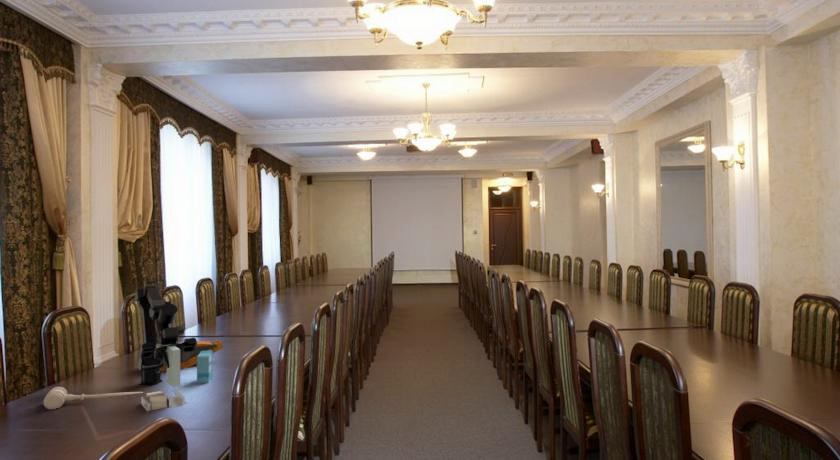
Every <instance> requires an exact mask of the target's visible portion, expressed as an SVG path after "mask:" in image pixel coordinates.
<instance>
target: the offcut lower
mask: <svg viewBox="0 0 840 460" xmlns="http://www.w3.org/2000/svg"><path fill="white" fill-rule="evenodd" d="M166 406H167V401H165V402H160V403H155V404H151V403H150V408H151V409H156V408H161V407H166ZM166 408H167V407H166ZM161 409H162V408H161ZM156 410H157V409H156Z"/></svg>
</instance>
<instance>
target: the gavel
mask: <svg viewBox="0 0 840 460" xmlns="http://www.w3.org/2000/svg"><path fill="white" fill-rule="evenodd" d="M142 393H144V392H143V391H129V392H128V391H127V392H125V391H124V392H113V393H112V392H111V393H109V392H108V393H100V394H85V393H82V394H80V395H79V394H77V395H76V394H71V393H68V390H67V389H66V388H64V387H62V386H55V387H53V388H51V389H50V390H49V391H48V393H47V394H46V396H45V397H44V399H43V405H44V407H45V408H46V409H48V410H56V408H58V409H60V408H61V407H62V406H63V404H64V403H65V402H70V401H72V400H82V401H84V399H97V398H98V399H105V398H106V399H107V398H108V399H109V398H112V399H113V398H117V397H118V398H119V397H123V396H128V395H135V394H142Z"/></svg>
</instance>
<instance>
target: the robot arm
mask: <svg viewBox="0 0 840 460" xmlns="http://www.w3.org/2000/svg"><path fill="white" fill-rule="evenodd" d="M134 301H135V302H136V305H137V306H136V307H137V308H138V310H140V311H141V317H142V330H143V343H142V344H141V345H140V349H139V359H138V362H137V369H138V370H139V371H141V372H140V373H141V375H140V376H141V379H140V380H141V382H138V385H140V386H141V385H142V386H143V385H144V386H154V385H156V384H158V383H160V382H162V381H163V379H161V373H162V371H160V367H161V368H162V367H163V364H164V365H165V366H166V367H167V368H169V361H168V358H167V355H166V350H167V347H168V346H176V347H177V348H179V349H180V355H182V354H183V351H184V352H193V351H194V350H195V347H196V345H197V341H198V340H197V338H195V337H188V338H184V340H183V342H178V341H179V336H182V335H183V334H184V333H185V330H184V325H183V324H182V325H177V326H175V327H174V325H173V323H174V322H175V319H176V316H177V312H178V306H176V305H175V304H174V303H171V301H166V300H164V299H163V297H162V294H161V293H160V289H159V286H158V285H156V284H155V285H144V287H141V288H140V289H137V290H136V292H135V293H134Z"/></svg>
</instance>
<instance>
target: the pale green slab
mask: <svg viewBox="0 0 840 460" xmlns="http://www.w3.org/2000/svg"><path fill="white" fill-rule="evenodd" d="M167 358H168V361H169V368H167V371H166V383H167V384H168V385H170V386H171V387H172V388H176V387H181V369H180V349H179V348H177V347H176V346H168V347H167Z"/></svg>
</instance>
